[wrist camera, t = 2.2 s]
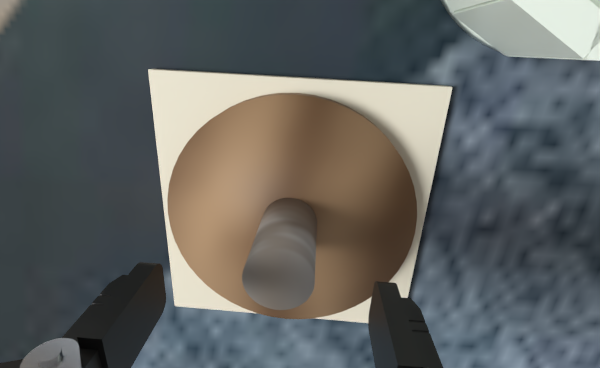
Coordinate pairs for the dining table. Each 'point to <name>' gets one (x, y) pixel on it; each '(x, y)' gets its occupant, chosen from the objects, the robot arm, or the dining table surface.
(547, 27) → the bowl
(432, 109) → the mat
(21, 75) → the dining table surface
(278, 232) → the lid
